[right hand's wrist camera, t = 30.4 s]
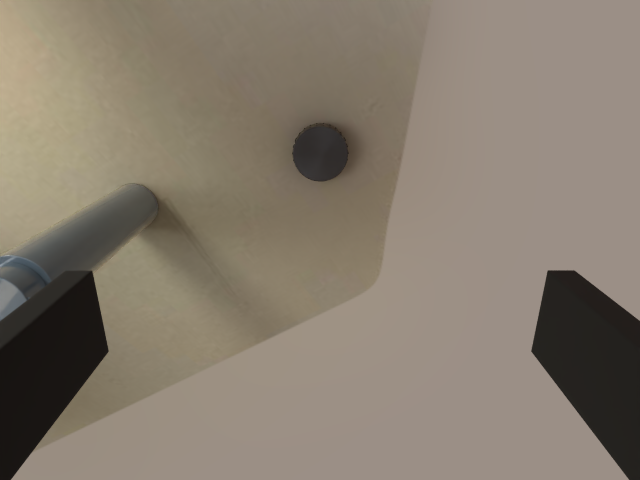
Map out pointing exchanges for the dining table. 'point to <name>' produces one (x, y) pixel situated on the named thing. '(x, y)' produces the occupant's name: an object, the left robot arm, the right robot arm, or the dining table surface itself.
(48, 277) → the grey cylindrical container
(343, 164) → the lid
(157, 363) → the dining table surface
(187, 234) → the dining table surface
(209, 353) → the dining table surface
